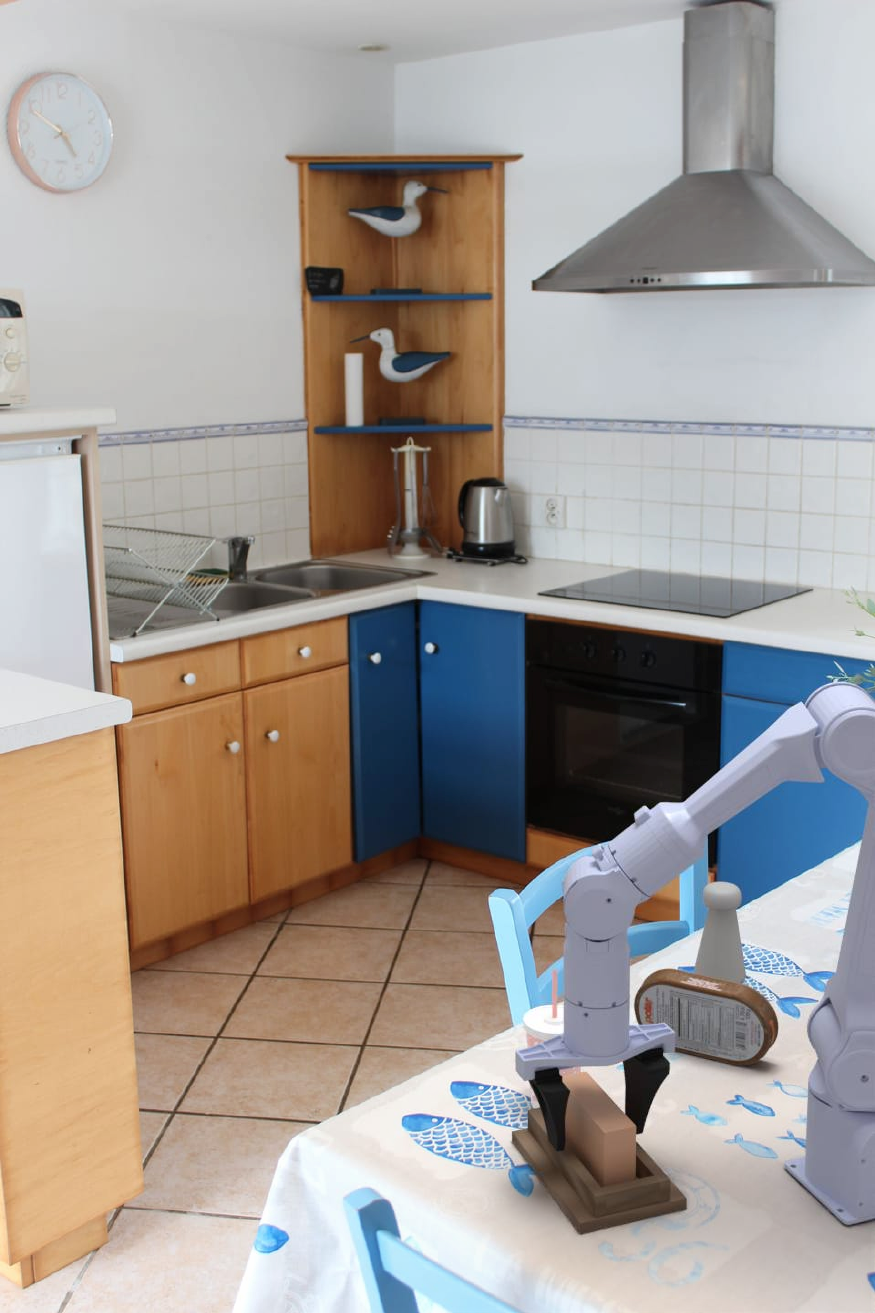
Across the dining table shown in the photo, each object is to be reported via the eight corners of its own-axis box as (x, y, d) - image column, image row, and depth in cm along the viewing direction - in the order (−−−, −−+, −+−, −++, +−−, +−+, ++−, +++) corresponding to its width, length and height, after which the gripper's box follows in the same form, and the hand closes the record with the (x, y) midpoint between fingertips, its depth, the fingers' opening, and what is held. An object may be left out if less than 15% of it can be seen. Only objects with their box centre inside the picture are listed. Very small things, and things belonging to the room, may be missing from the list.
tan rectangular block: (635, 1189, 118) (636, 1126, 116) (603, 1196, 117) (604, 1133, 115) (586, 1130, 127) (586, 1071, 126) (556, 1137, 126) (556, 1077, 125)
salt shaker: (683, 987, 158) (685, 881, 156) (724, 977, 161) (727, 873, 158) (714, 1007, 153) (716, 898, 150) (755, 997, 155) (758, 889, 153)
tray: (686, 1209, 116) (687, 1177, 116) (579, 1234, 113) (579, 1201, 113) (609, 1120, 130) (609, 1092, 130) (512, 1141, 127) (511, 1111, 127)
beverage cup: (510, 1104, 134) (509, 971, 131) (550, 1081, 138) (550, 951, 135) (558, 1127, 129) (558, 990, 126) (598, 1103, 134) (599, 969, 131)
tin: (778, 1064, 141) (780, 988, 139) (769, 1077, 138) (771, 1000, 136) (640, 1032, 148) (641, 959, 146) (629, 1044, 145) (630, 970, 144)
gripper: (649, 963, 124) (647, 1099, 127) (501, 988, 120) (503, 1129, 122) (688, 995, 118) (685, 1138, 120) (533, 1023, 113) (533, 1171, 116)
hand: (595, 1137), depth 121 cm, fingers open, 7 cm apart
